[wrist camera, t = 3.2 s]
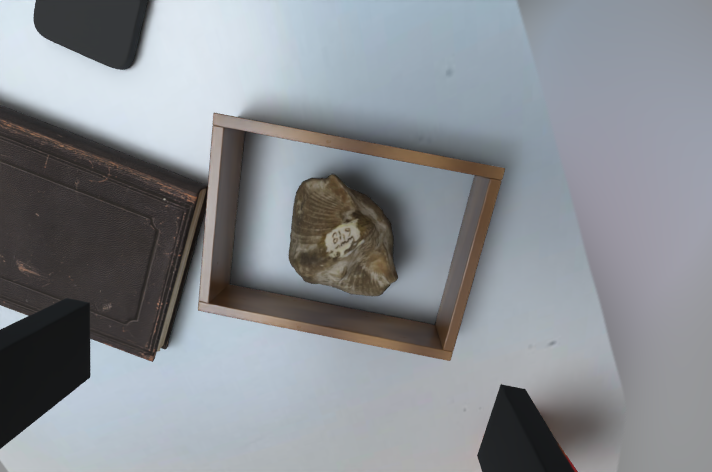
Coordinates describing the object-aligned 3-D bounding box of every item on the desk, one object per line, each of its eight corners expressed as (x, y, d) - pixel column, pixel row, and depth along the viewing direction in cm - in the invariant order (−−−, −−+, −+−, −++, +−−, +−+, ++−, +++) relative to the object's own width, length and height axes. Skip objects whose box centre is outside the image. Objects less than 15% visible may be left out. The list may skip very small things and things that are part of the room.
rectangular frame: (487, 165, 27) (505, 168, 23) (441, 334, 31) (450, 361, 27) (236, 117, 28) (213, 112, 24) (220, 290, 31) (197, 310, 27)
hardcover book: (167, 347, 33) (151, 362, 31) (-76, 257, 32) (-109, 265, 30) (212, 185, 29) (198, 188, 27) (-63, 77, 28) (-100, 71, 26)
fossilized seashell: (420, 287, 27) (387, 159, 27) (371, 320, 22) (329, 162, 22) (346, 294, 32) (317, 185, 32) (292, 323, 27) (256, 193, 26)
